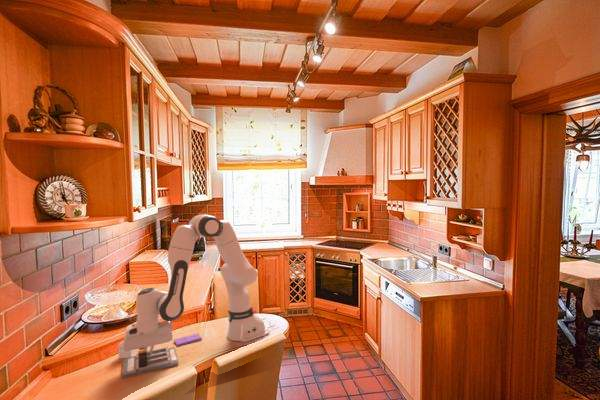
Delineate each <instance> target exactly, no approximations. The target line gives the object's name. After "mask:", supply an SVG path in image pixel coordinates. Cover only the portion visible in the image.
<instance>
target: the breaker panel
mask: <svg viewBox="0 0 600 400" xmlns="http://www.w3.org/2000/svg"><path fill="white" fill-rule="evenodd" d="M142 349H144V348H140V349H138V351H139V350H142ZM176 351H177V350H176V347H175V346H173V347H168V346H167V347H162V348H157V349H153V350H152V352H151V353H152V355H151V356H147V353H146V355H142V356H138V353H135V355H134V356H133V357H128V358H124V359H123V361H122V362H123V364H122V373H121V374H122V375H121V378H123V379H125V378H124V377H127V378H130V377H129V376H132V377H134V376H133V375H136V376H139V374H140V375H143V374H146V373H151V372H155V371H159V370H160V371H161V370H162V369H168V368H171V367H175V366H179V358H178V355H177V352H176Z"/></svg>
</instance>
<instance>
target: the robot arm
mask: <svg viewBox="0 0 600 400" xmlns="http://www.w3.org/2000/svg"><path fill="white" fill-rule="evenodd" d="M200 237H203V238H213V239H214V242H215V245H216V247H217V251H218V253H219V256H220V258H221V260H222V261H223V262H224V263H223V264H222V266H221V267H220V275H221V277H222V279H223V280H224V284H225V288H226V290H227V295H228V296H227V297H228V310H227V312H228V314H227V320H228V328H227V329H228V330H227V334H226V339H228V340H230V341H234V342H235V341H236V342H243V343H247V342H250V341H252V340H255V339H258V338H262V337H264V336H267V335H269V334H270V328H268V327H267V326H266V325H265V322H264V321H263V319H262V317H260V316H258V315H256V314H257V309H255V308H253V307H252V306H251V302H250V301H251V300H250V293H249V291H248V288H247V287H246V286H252V285H253V284H254V283H255V282H256V281H257V278H258V271H257V270H256V269H255V267H253V266H252V264H251V263H250V261H249V260H248V258H247V257H246V256H245V254H244V252H243V251H242V250H243V249H242V248H241V245H240V243H239V239H238V237H237V234H236V232H235V230H234V227H233V226H232V225H231V222H229V221H228V220H225V219H221V220H219V219H218V218H217V217H216V216H214V215H210V214H196V215H193V216H192V217H191V218H190V219H189V220H188V221H187V222H186V224H181V225H179V226H177V227H176V229H175V230H174V233H173V235H172V237H171V240H170V243H169V247H168V251H167V262H168V264H169V268H170V273H171V274H170V275H171V276H170V282H169V287H168V291H164V290H159V289H157V288H155V287H148V288H145V289H142V290H140V291H139V292H138V293H137V294H136V299H135V302H136V303H135V304H136V305H135V308H136V309H135V310H136V314H137V317H136V321H135V322H133V323H132V324H129V325H127V326H126V329H125V334H124V337H123V341H124V343H123V350H124V351H131V350H135V351H136V350H139V349H140V348H144V350H145V352H146V353H147V356H151V355H152V353H151V352H152V350H154V348H155V346H157V345H162V344H166V343H171V342H172V341H173V340H174V338H173V332H172V330H173V327H174V325H173V321H177V320H178V319H179V318H180V317H181V316H182V315H183V314H184V311H185V305H184V304H185V303H184V291H185V287H186V280H187V275H188V271H189V268H190V267H189V266H190V265H191V264H190V263H191V260H192V257H193V253H194V249H195V244H196V242H197V241H198V239H199V238H200ZM159 316H160V318H161V319H162V320H164V321H162V322H159ZM149 347H150V350H149V349H148V348H149Z"/></svg>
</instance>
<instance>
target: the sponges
mask: <svg viewBox="0 0 600 400" xmlns="http://www.w3.org/2000/svg"><path fill="white" fill-rule="evenodd" d="M202 340H203V338H202V336H201V335H200V334H199V333H194V334H191V335H187V336H182V337H178V338H175V339H174V338H173V343H174V342H175V343H174V344H175V345H177V346H176V347H181V346H184V345H188V344H192V343H195V342H199V341H200V342H201V341H202Z"/></svg>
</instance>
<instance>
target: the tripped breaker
mask: <svg viewBox="0 0 600 400" xmlns="http://www.w3.org/2000/svg"><path fill="white" fill-rule="evenodd" d="M137 352H138V353H137V354H138V356H142V355H146V352H145V350H144V349H142V350H139V349H138V351H137Z"/></svg>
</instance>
